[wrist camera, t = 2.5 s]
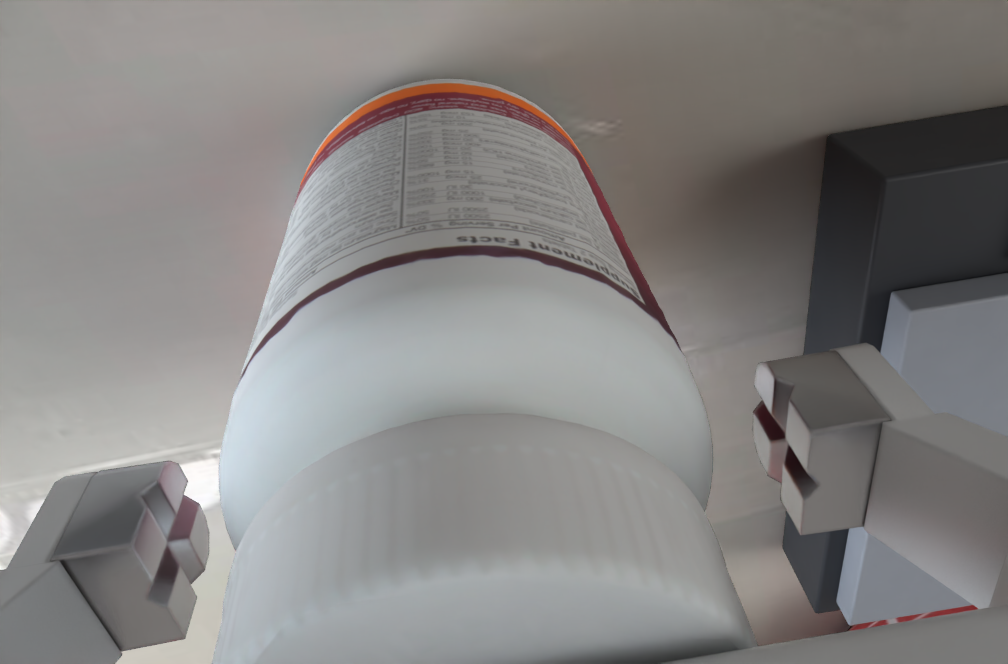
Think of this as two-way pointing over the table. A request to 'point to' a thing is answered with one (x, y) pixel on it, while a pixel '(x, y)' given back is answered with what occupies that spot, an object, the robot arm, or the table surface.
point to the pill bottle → (465, 414)
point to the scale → (910, 314)
